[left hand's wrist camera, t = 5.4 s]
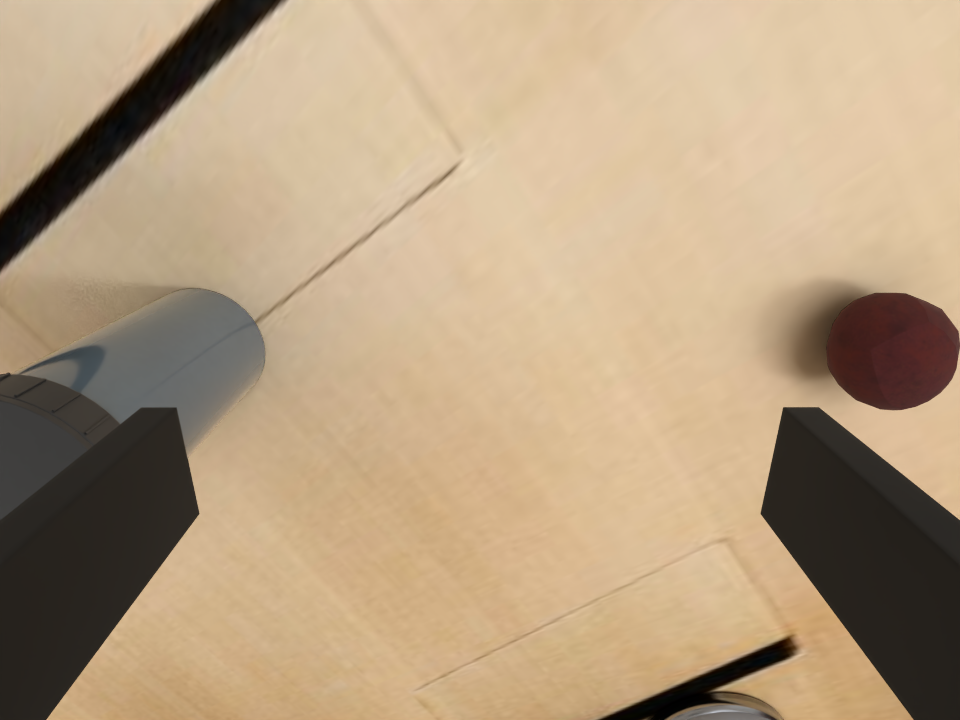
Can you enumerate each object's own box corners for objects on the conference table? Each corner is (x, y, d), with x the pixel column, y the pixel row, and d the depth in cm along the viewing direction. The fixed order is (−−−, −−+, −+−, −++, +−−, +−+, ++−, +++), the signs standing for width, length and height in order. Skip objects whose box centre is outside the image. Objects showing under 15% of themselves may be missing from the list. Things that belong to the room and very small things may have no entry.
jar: (174, 263, 39) (-63, 362, 22) (287, 333, 41) (148, 475, 24) (123, 359, 42) (-125, 515, 25) (231, 422, 44) (70, 607, 27)
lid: (-33, 327, 24) (-85, 346, 21) (188, 450, 26) (161, 479, 23) (-102, 492, 26) (-153, 524, 24) (102, 590, 29) (72, 627, 26)
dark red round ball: (828, 399, 43) (891, 447, 36) (787, 316, 40) (847, 351, 34) (925, 348, 41) (1009, 388, 35) (889, 258, 39) (972, 283, 32)
